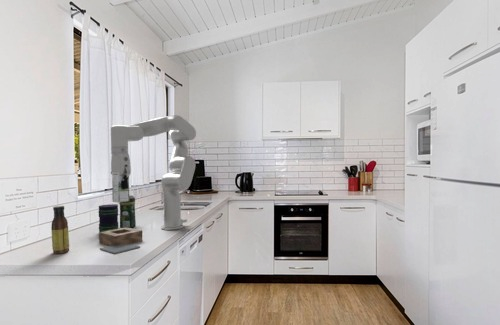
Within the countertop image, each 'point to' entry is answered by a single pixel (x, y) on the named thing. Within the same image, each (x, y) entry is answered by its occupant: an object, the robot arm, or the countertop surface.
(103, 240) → the pocket block
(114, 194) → the syrup box
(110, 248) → the mat
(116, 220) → the storage jar
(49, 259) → the countertop surface
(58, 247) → the sauce bottle
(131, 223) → the coffee jar
